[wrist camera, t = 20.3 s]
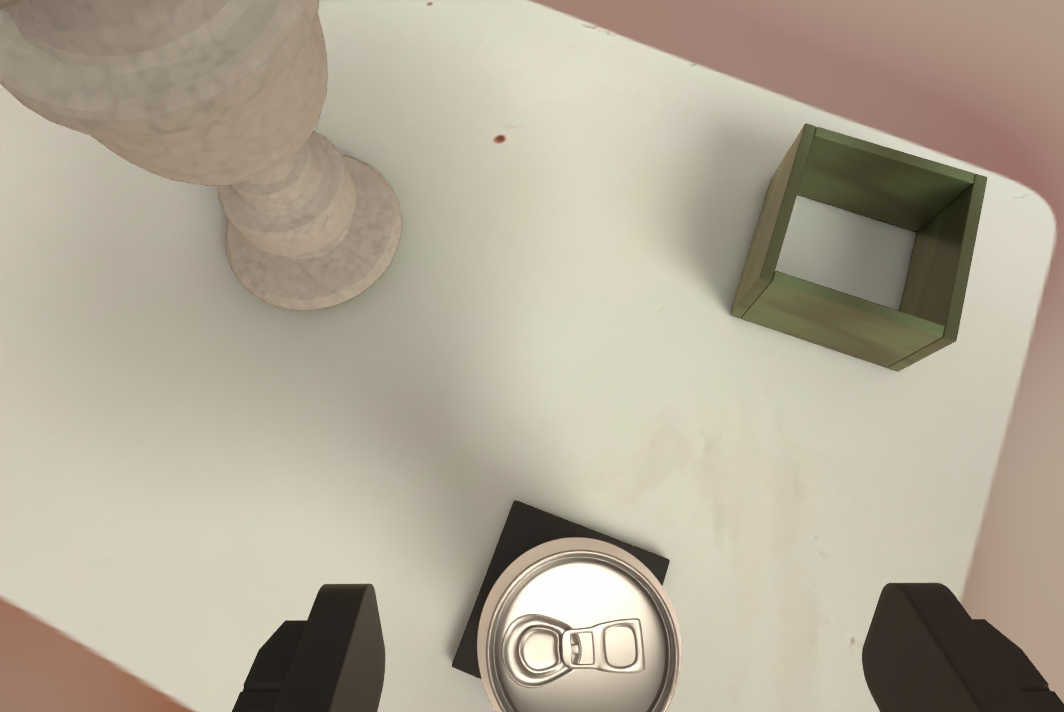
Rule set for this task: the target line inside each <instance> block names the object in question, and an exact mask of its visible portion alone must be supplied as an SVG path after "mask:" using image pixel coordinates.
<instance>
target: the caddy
mask: <svg viewBox="0 0 1064 712" xmlns="http://www.w3.org/2000/svg"><path fill="white" fill-rule="evenodd" d="M986 182H987V177H985V176H981V175H978V174H974V173H971V172H967V171H964V170H961V169H957V168H954V167H951V166H947V165H944V164H941V163H937V162H934V161H931V160H927V159H924V158H920V157H917V156H914V155H910V154H907V153H904V152H900V151H897V150H894V149H890V148H887V147H883V146H880V145H877V144H873V143H870V142H867V141H863V140H860V139H857V138H853V137H850V136H847V135H843V134H840V133H836V132H833V131H830V130H826V129H823V128H820V127H817V128H816V126H813V125H809V124H805V125H804V126H803V128H802V130H801V131H800V133H799V134H798V136H797V138H796V139H795V141H794V143H793V144H792V146H791V147H790V149H789V151H788V152H787V154H786V156H785V157H784V159H783V161H782V162H781V164H780V165H779V167H778V169H777V170H776V172H775V174H774V175H773V177H772V179H771V182H770V185H769V189H768V192H767V195H766V198H765V202H764V205H763V208H762V211H761V215H760V218H759V221H758V225H757V228H756V231H755V234H754V238H753V241H752V244H751V247H750V251H749V254H748V257H747V261H746V264H745V267H744V270H743V274H742V277H741V280H740V283H739V287H738V290H737V293H736V297H735V300H734V303H733V306H732V310H731V313H730V315H732V316H735V317H738V318H741V319H744V320H747V321H750V322H753V323H756V324H759V325H762V326H765V327H768V328H771V329H774V330H777V331H780V332H783V333H786V334H789V335H792V336H795V337H797V338H800V339H803V340H806V341H809V342H812V343H815V344H818V345H821V346H824V347H827V348H830V349H833V350H836V351H839V352H842V353H845V354H848V355H851V356H854V357H857V358H860V359H863V360H866V361H869V362H872V363H875V364H878V365H881V366H884V367H887V368H889V369H892V370H895V371H900V370H902V369H904V368H906V367H908V366H910V365H911V364H913V363H915V362H917V361H919V360H921V359H923V358H925V357H927V356H929V355H931V354H933V353H934V352H936V351H938V350H940V349H942V348H944V347H946V346H948V345H950V344H952V343H954V342H956V339H957V334H958V329H959V324H960V319H961V313H962V308H963V303H964V298H965V292H966V287H967V282H968V277H969V271H970V266H971V261H972V256H973V250H974V245H975V240H976V235H977V229H978V224H979V219H980V214H981V208H982V203H983V198H984V193H985V187H986ZM796 195H800V196H804V197H807V198H810V199H813V200H817V201H820V202H823V203H826V204H829V205H833V206H836V207H839V208H842V209H845V210H849V211H852V212H855V213H858V214H862V215H865V216H868V217H871V218H874V219H878V220H881V221H884V222H887V223H890V224H894V225H897V226H900V227H903V228H907V229H910V230H913V231H918V232H917V236H916V241H915V245H914V250H913V254H912V259H911V263H910V268H909V272H908V277H907V281H906V286H905V290H904V295H903V299H902V304H901V308H900V311H897V310H894V309H891V308H888V307H885V306H882V305H879V304H876V303H873V302H870V301H867V300H864V299H860V298H857V297H854V296H851V295H848V294H845V293H842V292H839V291H836V290H833V289H830V288H827V287H824V286H821V285H818V284H814V283H811V282H808V281H805V280H802V279H799V278H796V277H793V276H790V275H787V274H784V273H781V272H778V271H775V268H776V264H777V261H778V258H779V254H780V251H781V247H782V244H783V240H784V237H785V233H786V230H787V227H788V223H789V220H790V216H791V213H792V209H793V206H794V202H795V199H796ZM774 271H775V272H774Z"/></svg>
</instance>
